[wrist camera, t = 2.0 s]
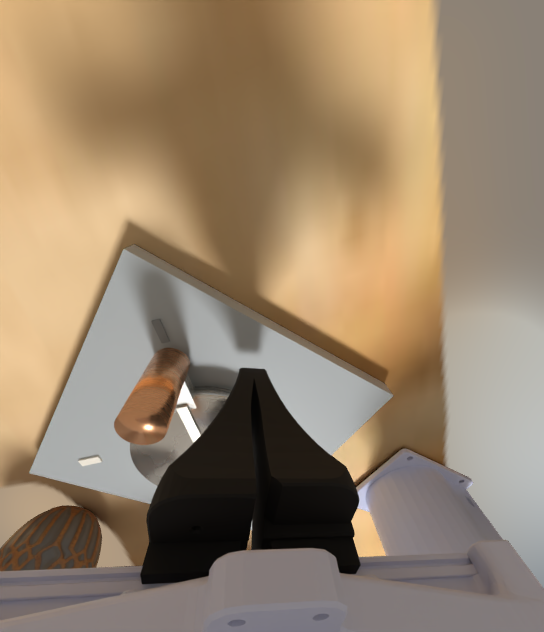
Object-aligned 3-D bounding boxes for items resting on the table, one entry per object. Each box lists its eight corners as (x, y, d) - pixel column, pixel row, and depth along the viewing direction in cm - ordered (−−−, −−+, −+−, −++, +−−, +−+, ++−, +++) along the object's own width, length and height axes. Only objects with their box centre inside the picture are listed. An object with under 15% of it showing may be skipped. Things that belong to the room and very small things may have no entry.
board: (385, 383, 18) (394, 397, 17) (252, 515, 24) (252, 531, 23) (134, 244, 13) (122, 249, 12) (41, 457, 19) (27, 474, 17)
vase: (9, 502, 20) (-142, 695, 13) (94, 488, 21) (-2, 671, 13) (52, 544, 23) (-48, 721, 16) (126, 532, 24) (65, 702, 16)
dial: (285, 466, 19) (295, 540, 15) (168, 491, 19) (146, 571, 15) (246, 328, 14) (245, 384, 10) (84, 363, 14) (16, 434, 10)
